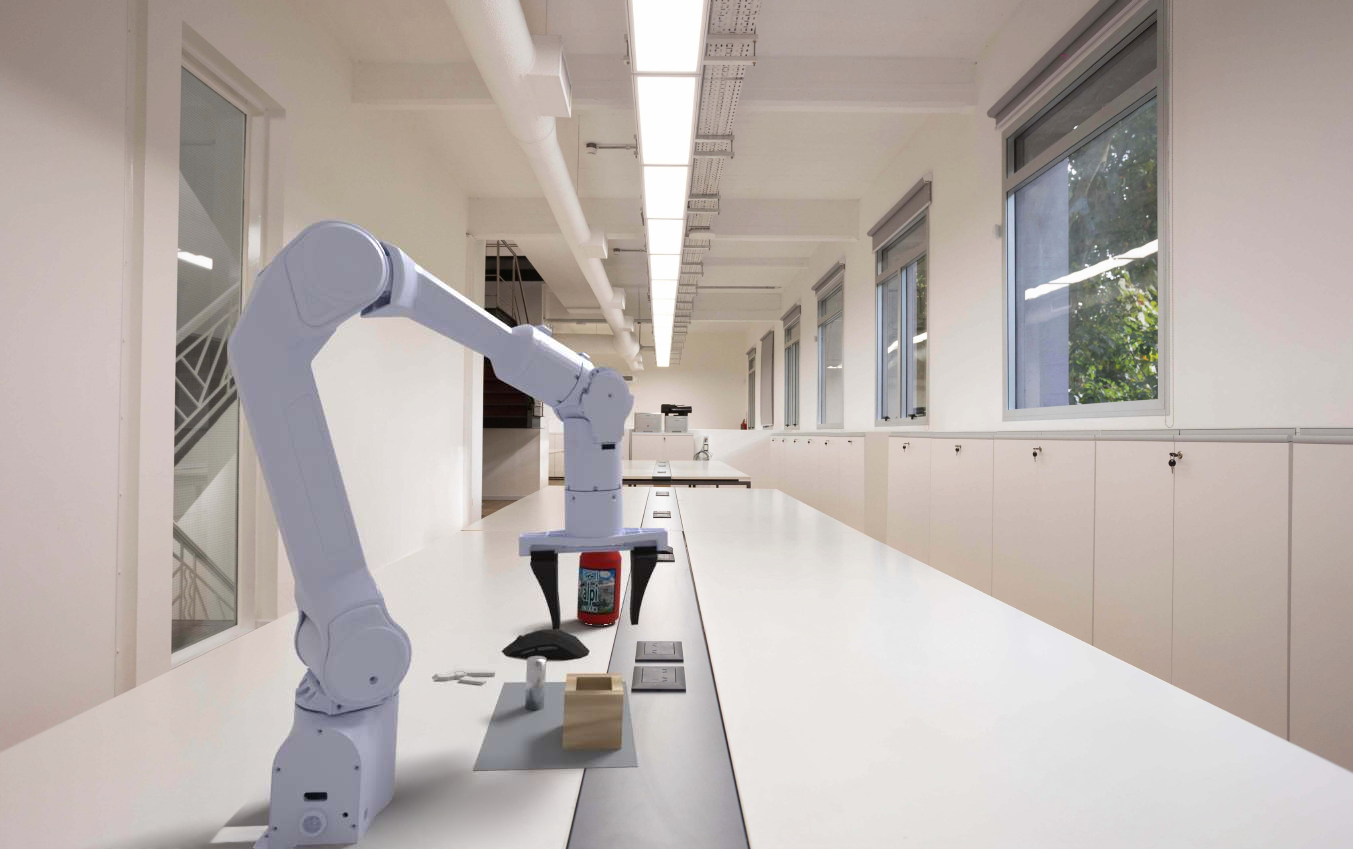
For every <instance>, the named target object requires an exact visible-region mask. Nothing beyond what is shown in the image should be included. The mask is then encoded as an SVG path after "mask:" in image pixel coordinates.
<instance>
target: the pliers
mask: <svg viewBox="0 0 1353 849" xmlns="http://www.w3.org/2000/svg"><path fill="white" fill-rule="evenodd" d="M496 672H497V671H496V670H493V669H492V670H491V669H479V668H478V669H476V668H454V669H452V670H449V671H447V672H444V673H435V674H434V675H432V677H431V679H432V681H433V682H439V681H440V682H443V681H444V682H448V681H449V682H450V681H452V680H453V681H454V680H458V681H457V682H458V683H461V684H462V683H463V684H471V685H479V686H483V685H484V686H485V685H486V684H487V680H485V679H483V678H477V677H495V676H496Z"/></svg>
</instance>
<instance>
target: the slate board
mask: <svg viewBox="0 0 1353 849" xmlns="http://www.w3.org/2000/svg"><path fill="white" fill-rule="evenodd" d="M622 685H623V693H624V697H623V721H622V745H621V749H590V750H562V741H563V718H564V696H565V686H566V681H545V700H544V708H543V709H541V710H538V711H530V710H527V709H525V693H526V681H523V682H522V681H521V682H520V681H518V682H517V681H515V682H513V681H512V682H511V681H509V682H508V681H507V682H504V683H503V686H502V688H501V691H500V693H499V697H498V699H497V703H496V706H495V707H494V711H493V714H492V716H491V719H490V722H489V725H488V728H487V731H486V733H485V736H484V739H483V742H482V745H481V747H480V751H479V753H478V756H477V758H476V762H475V763H474V767H473V769H472V771H473V772H484V771H485V772H487V771H529V770H530V771H531V770H561V769H562V770H567V769H568V770H569V769H575V770H576V769H608V768H609V769H612V768H615V769H616V768H617V769H618V768H639V764H638V758H637V750H636V743H635V737H634V735H635V734H634V728H633V722H632V714H631V708H630V701H629V694H628V686H627V681H622Z"/></svg>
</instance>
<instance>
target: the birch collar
mask: <svg viewBox="0 0 1353 849" xmlns="http://www.w3.org/2000/svg"><path fill="white" fill-rule="evenodd" d="M565 682H566V686H565V696H564V718H563V741H562V750H590V749H621V745H622V721H623V697H624V693H623V685H622V682H623V678H622V673H620V672H617V673H614V672H609V673H608V672H606V673H603V672H602V673H581V672H580V673H566V678H565Z"/></svg>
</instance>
